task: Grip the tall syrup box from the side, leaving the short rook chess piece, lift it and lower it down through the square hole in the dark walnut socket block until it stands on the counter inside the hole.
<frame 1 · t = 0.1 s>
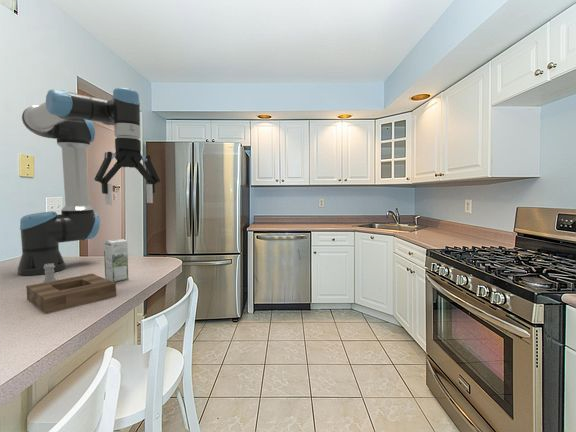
hand: (130, 203, 107), 28 cm above the table, tool pointing down, fingers open, 13 cm apart
syrup box: (117, 280, 117), on the table
socket block: (72, 297, 98), on the table
rook chess piece: (50, 288, 108), on the table
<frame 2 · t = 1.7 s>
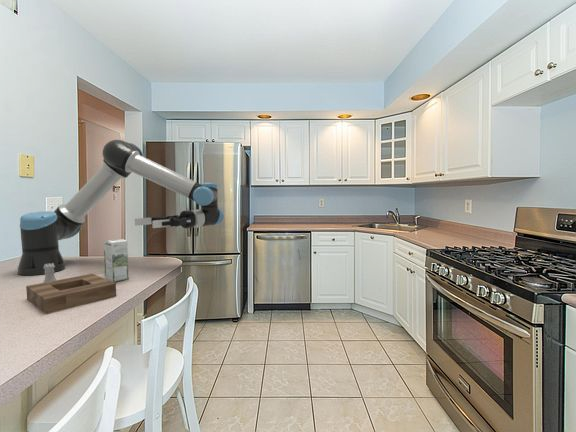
hand: (143, 223, 123), 20 cm above the table, tool horizontal, fingers open, 13 cm apart
nothing on the table moved.
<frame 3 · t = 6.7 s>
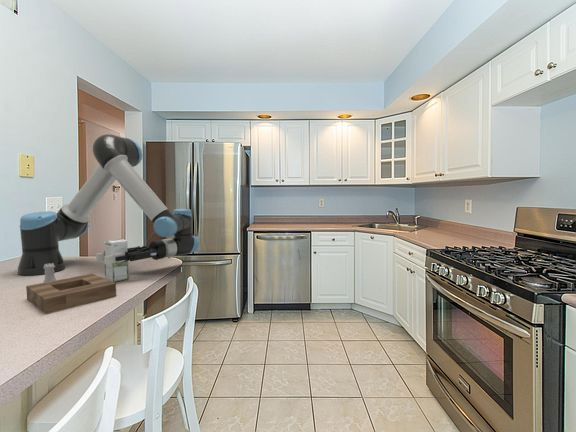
hand: (100, 259, 112), 9 cm above the table, tool horizontal, fingers closed on syrup box, 6 cm apart
syrup box: (117, 280, 117), on the table, touching gripper
everything else where it was.
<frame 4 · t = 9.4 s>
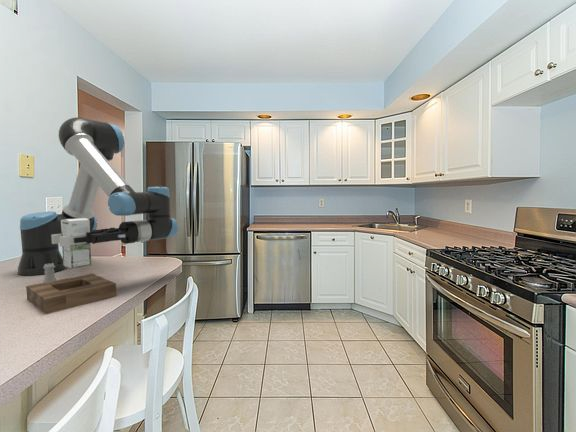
hand: (56, 240, 94), 18 cm above the table, tool horizontal, fingers closed on syrup box, 6 cm apart
syrup box: (77, 266, 99), point 9 cm above the table, touching gripper
everything else where it was.
when the fingers open (10 cm above the table, at t = 12.3 s): syrup box drops 1 cm, resting in socket block.
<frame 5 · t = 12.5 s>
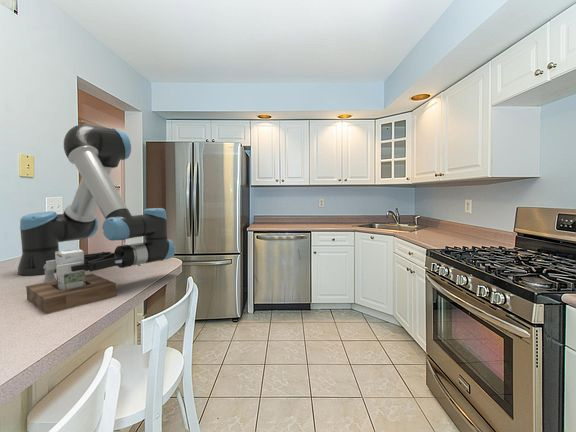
hand: (51, 268, 93), 10 cm above the table, tool horizontal, fingers open, 8 cm apart
syrup box: (72, 298, 98), resting in socket block
everything else where it was.
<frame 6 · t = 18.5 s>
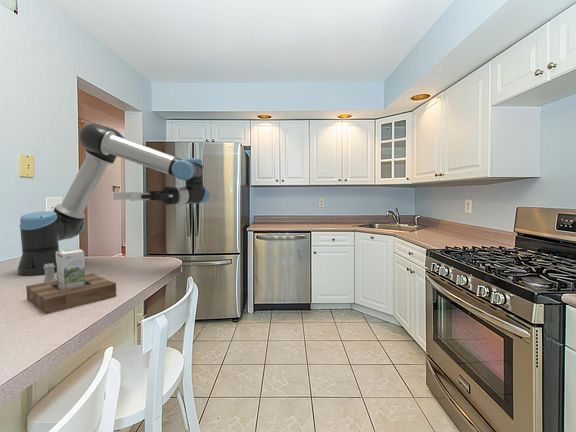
hand: (122, 196, 118), 30 cm above the table, tool horizontal, fingers open, 13 cm apart
nothing on the table moved.
at the end: syrup box 0.2 cm off-centre on the socket block, point 0.0 cm above the socket block's base; syrup box tilted 0°; the gripper is holding nothing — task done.
